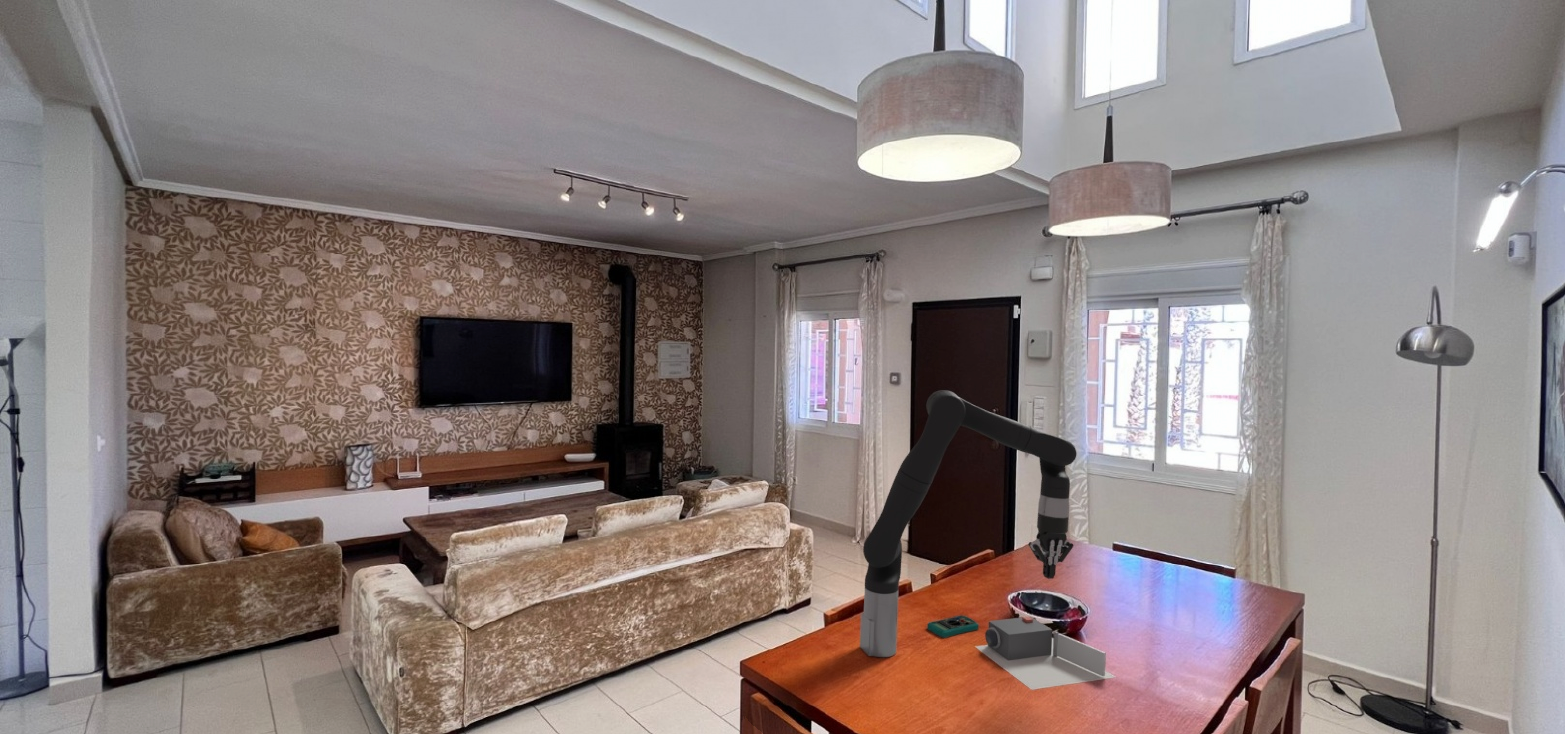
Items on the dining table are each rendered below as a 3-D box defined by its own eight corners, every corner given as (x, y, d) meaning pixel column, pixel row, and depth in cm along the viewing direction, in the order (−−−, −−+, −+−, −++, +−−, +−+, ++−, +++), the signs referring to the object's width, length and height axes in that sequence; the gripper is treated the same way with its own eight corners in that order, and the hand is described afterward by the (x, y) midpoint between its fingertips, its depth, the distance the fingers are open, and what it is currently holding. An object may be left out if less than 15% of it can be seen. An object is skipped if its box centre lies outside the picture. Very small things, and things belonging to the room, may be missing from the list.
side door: (1051, 654, 175) (1052, 631, 175) (1055, 653, 176) (1056, 630, 176) (1102, 677, 163) (1103, 653, 163) (1106, 676, 164) (1107, 651, 164)
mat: (1031, 691, 156) (1031, 689, 156) (974, 647, 179) (974, 646, 179) (1116, 678, 164) (1116, 677, 164) (1051, 638, 187) (1051, 637, 187)
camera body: (1003, 661, 171) (1004, 632, 171) (983, 646, 179) (984, 618, 179) (1051, 654, 175) (1052, 626, 175) (1029, 640, 184) (1030, 613, 184)
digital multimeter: (980, 631, 191) (980, 622, 191) (943, 641, 184) (943, 630, 184) (962, 622, 198) (962, 613, 198) (925, 631, 190) (926, 621, 190)
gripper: (1041, 517, 163) (1037, 584, 163) (1084, 516, 167) (1079, 581, 167) (1022, 509, 170) (1018, 573, 171) (1063, 508, 174) (1059, 571, 174)
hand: (1048, 577), depth 169 cm, fingers closed
